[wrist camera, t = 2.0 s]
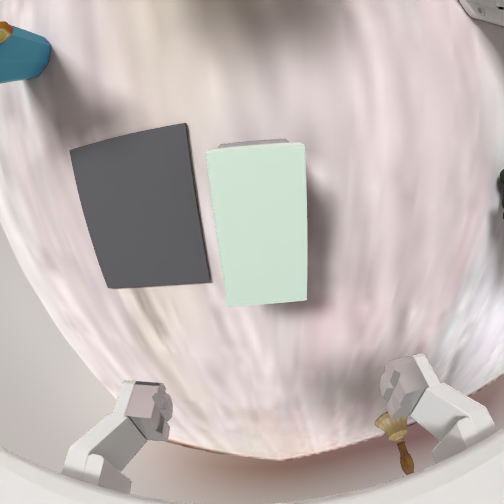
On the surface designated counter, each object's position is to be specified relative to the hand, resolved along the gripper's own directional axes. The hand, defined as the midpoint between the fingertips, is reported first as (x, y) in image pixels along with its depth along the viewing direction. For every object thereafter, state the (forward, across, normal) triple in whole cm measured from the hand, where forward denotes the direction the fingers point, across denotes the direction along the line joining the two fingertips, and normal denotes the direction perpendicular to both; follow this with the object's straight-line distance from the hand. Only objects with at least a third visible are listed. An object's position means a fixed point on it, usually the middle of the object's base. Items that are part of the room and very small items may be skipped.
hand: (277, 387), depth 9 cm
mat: (+21, +12, 0) cm, 25 cm away
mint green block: (+16, 0, 0) cm, 16 cm away
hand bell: (+21, -26, +49) cm, 60 cm away
